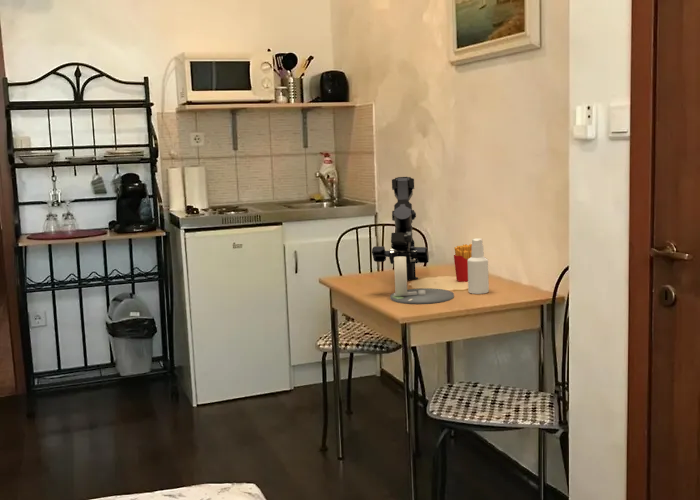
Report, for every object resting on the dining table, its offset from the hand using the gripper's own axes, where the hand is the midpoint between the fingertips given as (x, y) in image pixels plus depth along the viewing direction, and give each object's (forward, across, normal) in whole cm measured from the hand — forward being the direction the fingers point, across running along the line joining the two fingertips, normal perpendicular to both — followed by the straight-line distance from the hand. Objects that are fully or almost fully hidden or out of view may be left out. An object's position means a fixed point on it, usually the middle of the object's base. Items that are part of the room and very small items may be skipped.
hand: (397, 275), depth 258 cm
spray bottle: (-2, +26, +12) cm, 28 cm away
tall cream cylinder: (+5, +3, +4) cm, 7 cm away
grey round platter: (+4, +8, +6) cm, 11 cm away
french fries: (-16, +20, +26) cm, 37 cm away
